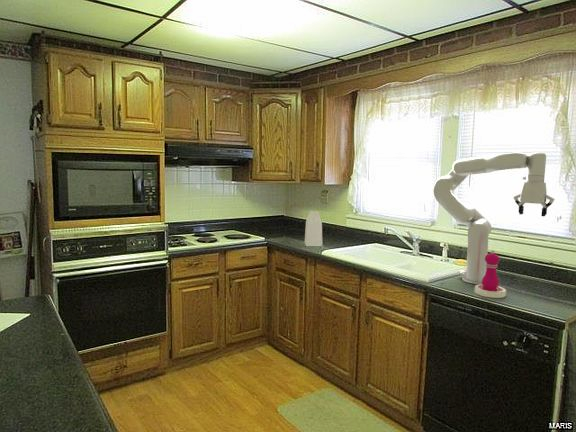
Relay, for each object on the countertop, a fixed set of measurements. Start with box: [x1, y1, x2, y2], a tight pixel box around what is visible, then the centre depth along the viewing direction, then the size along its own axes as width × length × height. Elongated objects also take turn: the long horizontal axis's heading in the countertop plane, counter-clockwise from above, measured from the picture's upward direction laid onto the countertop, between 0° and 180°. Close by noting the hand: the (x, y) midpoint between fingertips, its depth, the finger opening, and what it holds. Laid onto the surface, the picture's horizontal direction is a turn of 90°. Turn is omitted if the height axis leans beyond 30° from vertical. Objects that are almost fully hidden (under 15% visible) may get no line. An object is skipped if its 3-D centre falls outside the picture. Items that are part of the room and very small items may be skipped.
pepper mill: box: [482, 249, 500, 292], centre depth 192 cm, size 7×7×20 cm
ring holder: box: [473, 284, 507, 299], centre depth 193 cm, size 13×13×3 cm
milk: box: [304, 210, 323, 247], centre depth 302 cm, size 12×12×26 cm
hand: (532, 215), depth 197 cm, fingers open, 9 cm apart
